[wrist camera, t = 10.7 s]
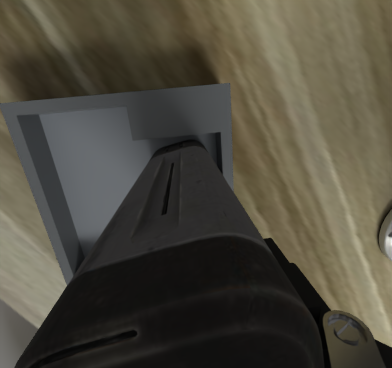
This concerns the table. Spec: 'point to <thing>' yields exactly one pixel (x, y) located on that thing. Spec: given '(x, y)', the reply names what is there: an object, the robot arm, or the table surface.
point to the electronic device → (178, 283)
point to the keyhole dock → (107, 153)
